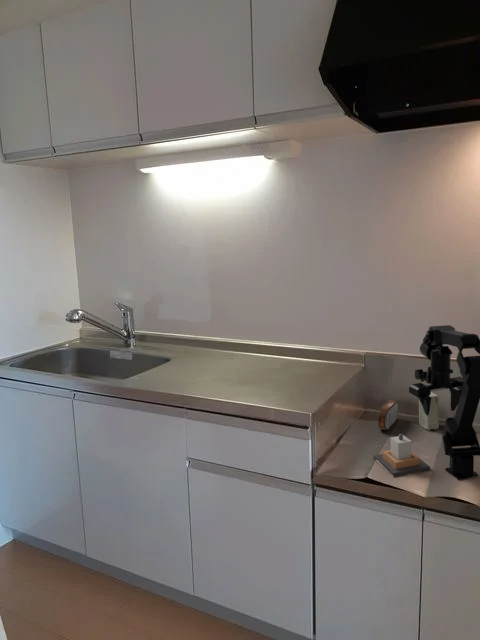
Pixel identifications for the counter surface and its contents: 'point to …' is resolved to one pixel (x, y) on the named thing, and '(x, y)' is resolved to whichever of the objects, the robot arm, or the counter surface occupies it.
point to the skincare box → (430, 414)
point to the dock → (401, 463)
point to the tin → (388, 415)
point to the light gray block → (400, 447)
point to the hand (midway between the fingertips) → (439, 412)
